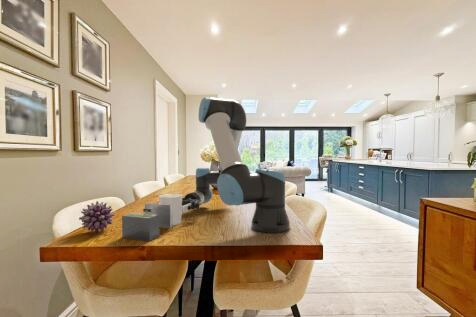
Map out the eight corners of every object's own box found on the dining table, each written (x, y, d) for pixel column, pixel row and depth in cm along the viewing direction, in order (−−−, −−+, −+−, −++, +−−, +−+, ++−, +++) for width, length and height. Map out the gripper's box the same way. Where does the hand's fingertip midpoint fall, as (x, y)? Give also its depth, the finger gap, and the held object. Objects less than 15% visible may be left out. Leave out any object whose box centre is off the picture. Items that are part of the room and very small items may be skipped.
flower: (116, 233, 91) (115, 202, 91) (78, 239, 85) (77, 205, 84) (114, 225, 101) (113, 197, 101) (80, 230, 95) (79, 200, 94)
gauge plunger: (172, 227, 94) (171, 204, 94) (160, 233, 88) (160, 208, 87) (147, 224, 98) (146, 202, 98) (134, 230, 92) (133, 206, 91)
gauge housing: (159, 236, 87) (158, 214, 87) (149, 241, 82) (149, 217, 82) (132, 233, 91) (132, 212, 91) (122, 237, 86) (121, 215, 86)
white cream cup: (176, 227, 98) (176, 197, 98) (154, 225, 100) (154, 197, 100) (186, 220, 108) (186, 193, 108) (166, 219, 110) (165, 193, 110)
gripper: (216, 208, 119) (194, 219, 99) (173, 205, 127) (145, 215, 107) (216, 193, 119) (194, 201, 99) (173, 191, 127) (145, 198, 107)
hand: (168, 208), depth 103 cm, fingers open, 13 cm apart
